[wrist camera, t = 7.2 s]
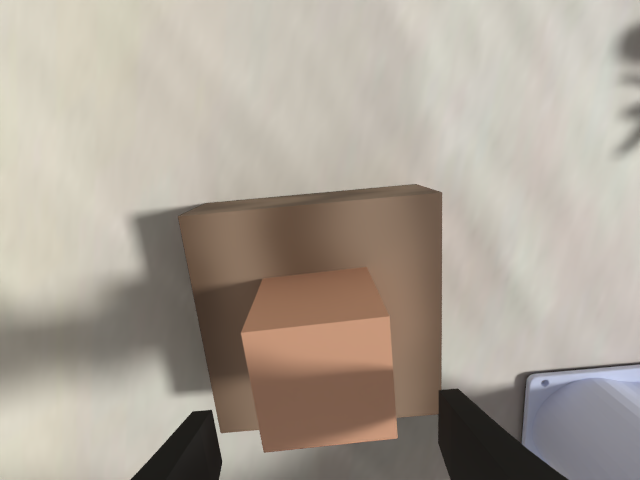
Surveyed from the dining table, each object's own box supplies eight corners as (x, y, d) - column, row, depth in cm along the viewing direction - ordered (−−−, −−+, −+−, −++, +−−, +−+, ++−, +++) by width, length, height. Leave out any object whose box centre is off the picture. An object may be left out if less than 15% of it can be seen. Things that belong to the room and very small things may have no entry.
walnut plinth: (416, 184, 19) (442, 192, 15) (418, 368, 22) (441, 414, 18) (205, 203, 19) (177, 216, 15) (236, 384, 22) (220, 433, 18)
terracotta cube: (366, 266, 16) (389, 316, 11) (374, 358, 17) (397, 437, 13) (262, 278, 16) (240, 332, 11) (277, 369, 17) (263, 452, 13)
